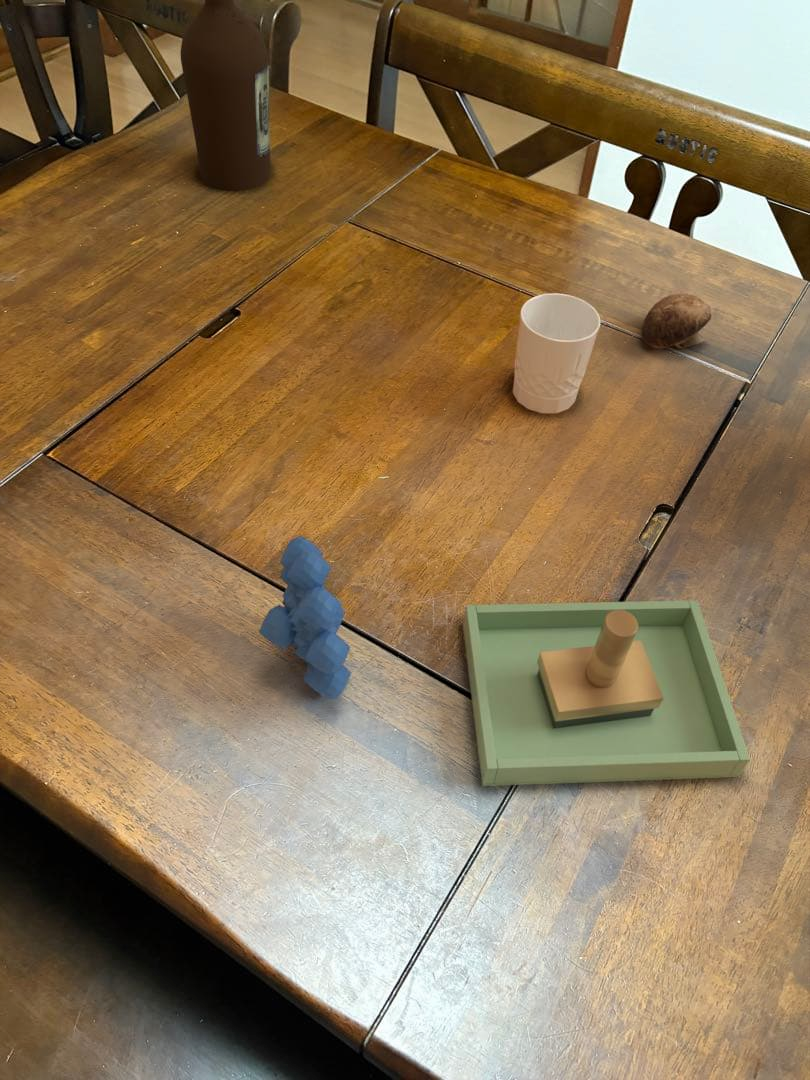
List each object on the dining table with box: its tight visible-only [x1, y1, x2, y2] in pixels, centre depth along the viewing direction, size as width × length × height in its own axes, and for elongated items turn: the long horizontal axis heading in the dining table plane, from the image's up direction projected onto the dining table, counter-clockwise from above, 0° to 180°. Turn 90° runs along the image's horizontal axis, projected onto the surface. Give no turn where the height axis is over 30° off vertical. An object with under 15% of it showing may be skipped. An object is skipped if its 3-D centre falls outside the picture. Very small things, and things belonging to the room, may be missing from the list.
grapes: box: [259, 535, 352, 701], centre depth 70 cm, size 12×7×12 cm, turn 18°
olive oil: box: [180, 0, 272, 192], centre depth 114 cm, size 11×11×25 cm
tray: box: [462, 599, 751, 787], centre depth 72 cm, size 20×15×3 cm
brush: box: [537, 610, 664, 728], centre depth 69 cm, size 8×5×10 cm, turn 100°
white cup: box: [512, 292, 601, 414], centre depth 94 cm, size 8×8×10 cm
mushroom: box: [641, 293, 712, 350], centre depth 103 cm, size 8×8×6 cm
